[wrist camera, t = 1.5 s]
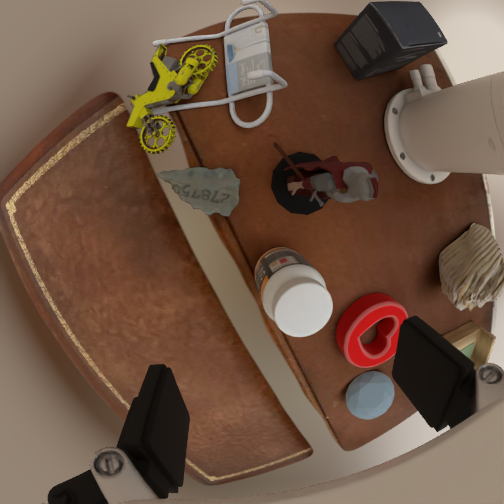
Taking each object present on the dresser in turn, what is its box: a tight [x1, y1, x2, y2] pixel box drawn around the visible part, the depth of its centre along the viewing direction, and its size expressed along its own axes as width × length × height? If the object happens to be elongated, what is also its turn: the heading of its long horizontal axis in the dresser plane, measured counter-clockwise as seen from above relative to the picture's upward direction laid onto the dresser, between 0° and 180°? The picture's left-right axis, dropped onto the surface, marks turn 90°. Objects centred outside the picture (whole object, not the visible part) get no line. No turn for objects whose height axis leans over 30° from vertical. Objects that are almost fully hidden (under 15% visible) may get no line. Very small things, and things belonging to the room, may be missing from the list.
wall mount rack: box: [152, 0, 287, 128], centre depth 21 cm, size 16×14×6 cm
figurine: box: [272, 142, 378, 215], centre depth 20 cm, size 7×7×15 cm
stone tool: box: [158, 167, 241, 216], centre depth 26 cm, size 9×2×5 cm
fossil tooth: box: [439, 223, 504, 311], centre depth 26 cm, size 12×6×15 cm
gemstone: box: [346, 371, 394, 420], centre depth 34 cm, size 8×8×5 cm
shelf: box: [443, 321, 496, 370], centre depth 30 cm, size 12×10×14 cm
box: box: [334, 1, 447, 80], centre depth 19 cm, size 8×6×11 cm
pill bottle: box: [255, 247, 333, 337], centre depth 25 cm, size 6×6×10 cm
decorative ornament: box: [336, 293, 408, 368], centre depth 31 cm, size 10×10×3 cm
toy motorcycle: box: [127, 43, 218, 154], centre depth 21 cm, size 12×4×7 cm
